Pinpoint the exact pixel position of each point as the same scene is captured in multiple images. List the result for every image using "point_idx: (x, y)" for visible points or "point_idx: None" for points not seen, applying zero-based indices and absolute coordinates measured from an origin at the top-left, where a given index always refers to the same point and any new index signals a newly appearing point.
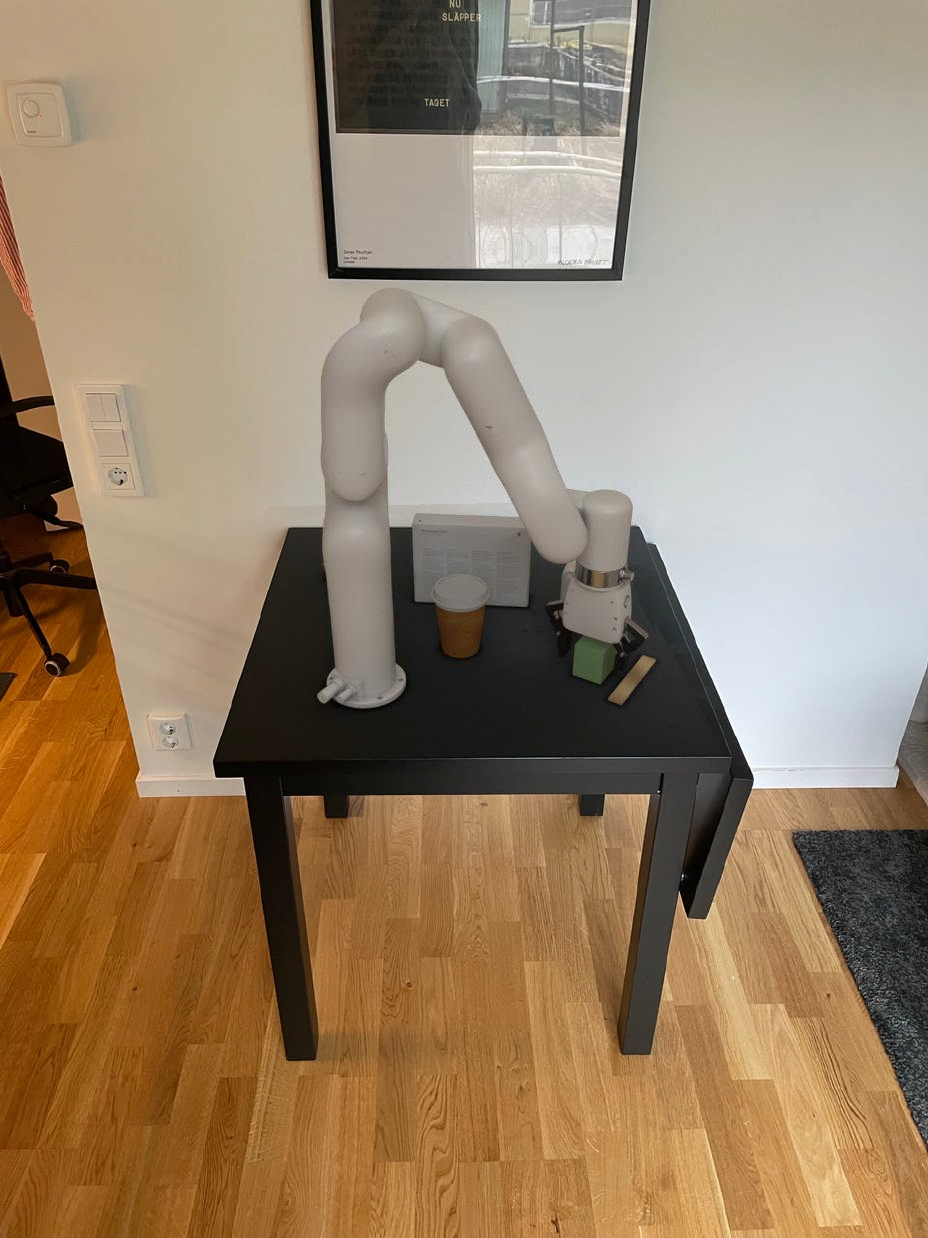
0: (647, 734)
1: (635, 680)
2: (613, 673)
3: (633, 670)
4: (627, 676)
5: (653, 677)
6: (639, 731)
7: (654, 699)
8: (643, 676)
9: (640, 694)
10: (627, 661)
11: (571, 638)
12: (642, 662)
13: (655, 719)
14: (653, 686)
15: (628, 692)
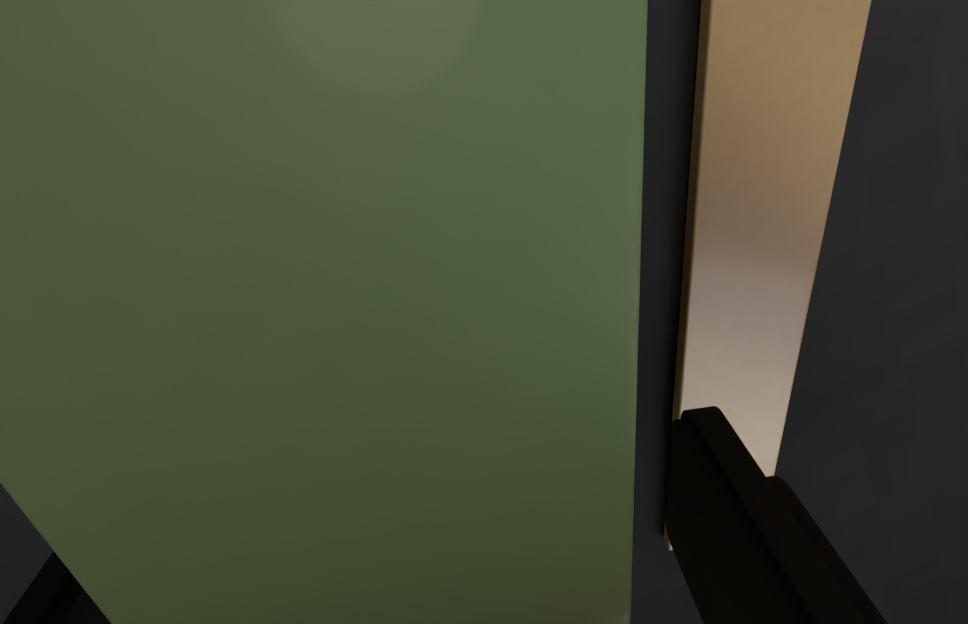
0: (934, 595)
1: (777, 320)
2: (675, 545)
3: (719, 214)
4: (701, 317)
5: (898, 150)
6: (892, 600)
7: (941, 378)
8: (821, 220)
9: (836, 391)
10: (816, 537)
11: (70, 609)
12: (763, 25)
13: (965, 506)
14: (915, 261)
15: (768, 453)
